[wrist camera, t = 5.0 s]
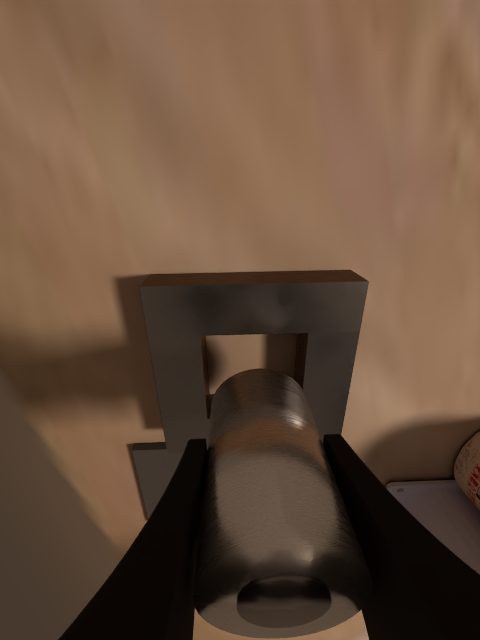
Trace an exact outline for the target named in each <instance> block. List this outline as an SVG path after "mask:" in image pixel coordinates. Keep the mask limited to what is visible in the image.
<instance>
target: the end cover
mask: <svg viewBox="0 0 480 640" xmlns="http://www.w3.org/2000/svg"><path fill="white" fill-rule="evenodd" d="M372 591H373V581H372V577H371V574H370V572H369V569H368V566H367V563H366V561H365V558H364V555H363V552H362V550H361V547H360V544H359V542H358V539H357V536H356V533H355V531H354V528H353V525H352V522H351V520H350V517H349V514H348V512H347V509H346V506H345V503H344V501H343V498H342V495H341V492H340V490H339V487H338V484H337V482H336V479H335V476H334V473H333V471H332V468H331V465H330V462H329V460H328V457H327V454H326V452H325V449H324V446H323V443H322V441H321V438H320V435H319V432H318V430H317V427H316V424H315V422H314V419H313V416H312V413H311V411H310V408H309V405H308V402H307V400H306V397H305V394H304V392H303V390H302V388H301V387H300V385H299V384H298V383H297V382H296V381H295V380H294V379H293V378H291V377H290V376H288V375H286V374H284V373H282V372H279V371H276V370H271V369H251V370H246V371H243V372H240V373H238V374H235V375H233V376H232V377H230V378H228V379H227V380H226V381H224V382H223V383H222V384H221V385H220V387H219V388H218V389H217V391H216V392H215V394H214V397H213V399H212V404H211V414H210V424H209V435H208V446H207V457H206V468H205V478H204V488H203V499H202V510H201V520H200V531H199V542H198V552H197V563H196V574H195V584H194V595H193V601H194V605H195V608H196V610H197V612H198V613H199V615H200V616H201V617H202V618H203V619H204V620H206V621H207V622H208V623H210V624H211V625H213V626H214V627H217V628H219V629H221V630H223V631H226V632H229V633H233V634H236V635H241V636H246V637H254V638H289V637H297V636H303V635H308V634H312V633H316V632H320V631H323V630H326V629H329V628H331V627H334V626H336V625H338V624H340V623H342V622H344V621H346V620H348V619H349V618H351V617H353V616H354V615H355V614H357V613H358V612H359V611H360V610H361V609H362V608H363V607H364V606H365V605H366V603H367V602H368V601H369V599H370V597H371V595H372Z"/></svg>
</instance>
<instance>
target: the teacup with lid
mask: <svg viewBox="0 0 480 640" xmlns="http://www.w3.org/2000/svg"><path fill="white" fill-rule="evenodd" d="M454 475H455V479H456V482H457V484H458V485H459V487H460V488H461V489H462V491H463V492H464V493H465V494H466V495H467V496H468V498H469V499H470V500H471V501H472V502H473V503H474V505H475V506H476V507H477V508H478V509H479V511H480V431H479V432H478V433H476V434H475V435H474V436H473V437H472V438H471V439H470V440H469V441H468V442H467V443H466V444H465V445H464V446H463V448H462V449H461V451H460V452H459V454H458V456H457V459H456V461H455V466H454Z"/></svg>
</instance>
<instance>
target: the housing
mask: <svg viewBox="0 0 480 640" xmlns="http://www.w3.org/2000/svg"><path fill="white" fill-rule="evenodd" d="M368 283H369V281H367V280H366V279H364V278H363V277H361V276H360V275H358V274H356V273H355V272H353V271H352V270H329V271H283V272H237V273H192V274H151V275H150V276H149V277H148V278H147V279H146V280H145V281H144V282H143V283H142V284H141V285H140V286H139V288H140V294H141V300H142V306H143V312H144V318H145V324H146V330H147V335H148V341H149V347H150V353H151V359H152V365H153V371H154V377H155V383H156V389H157V395H158V401H159V407H160V413H161V419H162V425H163V430H164V436H165V442H166V448H167V453H177V452H184V450H185V448H186V445H187V442H188V441H189V440H190V439H204V438H206V444H207V446H208V435H209V424H210V414H211V404H212V399H213V397H214V395H210V392H209V379H208V365H207V351H206V337H205V336H208V335H245V334H282V333H298V335H297V347H296V360H295V373H294V380H295V381H296V382H297V383H298V384H299V385H300V387H301V388H302V390H303V392H304V394H305V397H306V400H307V402H308V405H309V408H310V411H311V413H312V416H313V419H314V422H315V424H316V427H317V430H318V432H319V435H320V438H321V441H322V443H323V439H324V434H340V435H341V432H342V427H343V421H344V416H345V410H346V405H347V399H348V394H349V388H350V383H351V377H352V372H353V366H354V361H355V355H356V350H357V344H358V339H359V333H360V327H361V322H362V316H363V311H364V305H365V300H366V294H367V289H368Z"/></svg>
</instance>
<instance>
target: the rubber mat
mask: <svg viewBox="0 0 480 640" xmlns="http://www.w3.org/2000/svg"><path fill="white" fill-rule="evenodd" d="M183 453H184V452H177V453H167V448H166V443H139V444H134V446H133V449H132V454H133V458H134V462H135V466H136V470H137V474H138V479H139V483H140V487H141V491H142V495H143V499H144V504H145V508H146V512H147V516H148V519H149V518H150V516H151V514H152V512H153V511H154V509H155V507H156V506H157V504H158V502H159V500H160V499H161V497H162V495H163V493H164V492H165V490H166V488H167V486H168V484H169V482H170V480H171V478H172V476H173V474H174V472H175V470H176V468H177V466H178V464H179V462H180V460H181V457H182V455H183Z"/></svg>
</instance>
